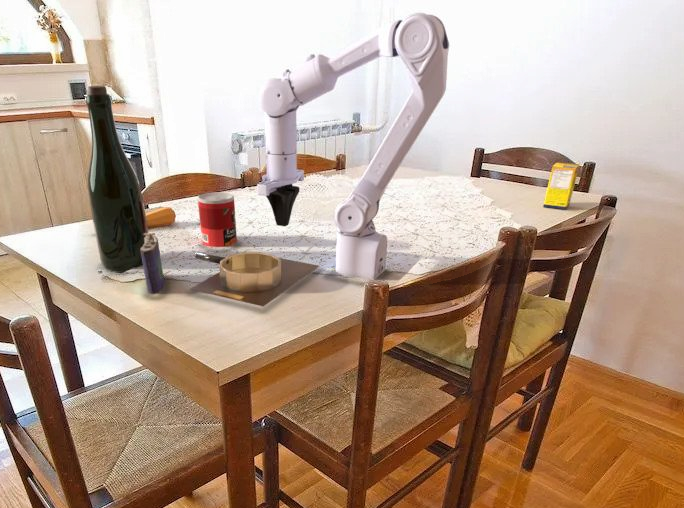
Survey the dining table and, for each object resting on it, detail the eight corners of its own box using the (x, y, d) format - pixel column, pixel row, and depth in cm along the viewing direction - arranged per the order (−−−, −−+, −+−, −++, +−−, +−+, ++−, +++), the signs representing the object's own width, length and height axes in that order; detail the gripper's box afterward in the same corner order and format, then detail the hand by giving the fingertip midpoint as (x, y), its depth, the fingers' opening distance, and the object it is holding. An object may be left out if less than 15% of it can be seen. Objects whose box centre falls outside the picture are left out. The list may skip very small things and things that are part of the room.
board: (319, 270, 108) (319, 265, 107) (263, 311, 91) (262, 306, 91) (253, 257, 114) (253, 252, 114) (189, 293, 98) (188, 288, 97)
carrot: (175, 224, 137) (169, 206, 136) (179, 221, 133) (173, 203, 132) (98, 244, 130) (92, 225, 129) (100, 242, 126) (93, 223, 125)
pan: (292, 275, 102) (291, 258, 100) (260, 297, 94) (260, 278, 92) (213, 259, 110) (212, 243, 108) (178, 278, 102) (176, 260, 100)
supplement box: (569, 205, 148) (580, 163, 142) (565, 210, 144) (577, 167, 138) (546, 202, 151) (556, 161, 145) (542, 207, 146) (552, 165, 140)
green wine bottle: (119, 277, 105) (83, 89, 87) (92, 265, 111) (53, 86, 93) (163, 263, 111) (138, 85, 94) (135, 252, 117) (106, 82, 100)
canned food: (231, 252, 117) (228, 201, 111) (197, 250, 118) (192, 199, 112) (241, 241, 123) (238, 192, 117) (208, 239, 125) (204, 191, 119)
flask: (151, 279, 104) (142, 225, 98) (166, 279, 104) (159, 224, 98) (147, 299, 96) (137, 241, 90) (163, 298, 96) (155, 240, 91)
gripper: (282, 144, 105) (283, 213, 113) (241, 156, 95) (245, 231, 102) (313, 147, 102) (312, 217, 110) (275, 160, 92) (277, 237, 99)
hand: (282, 224), depth 106 cm, fingers closed
